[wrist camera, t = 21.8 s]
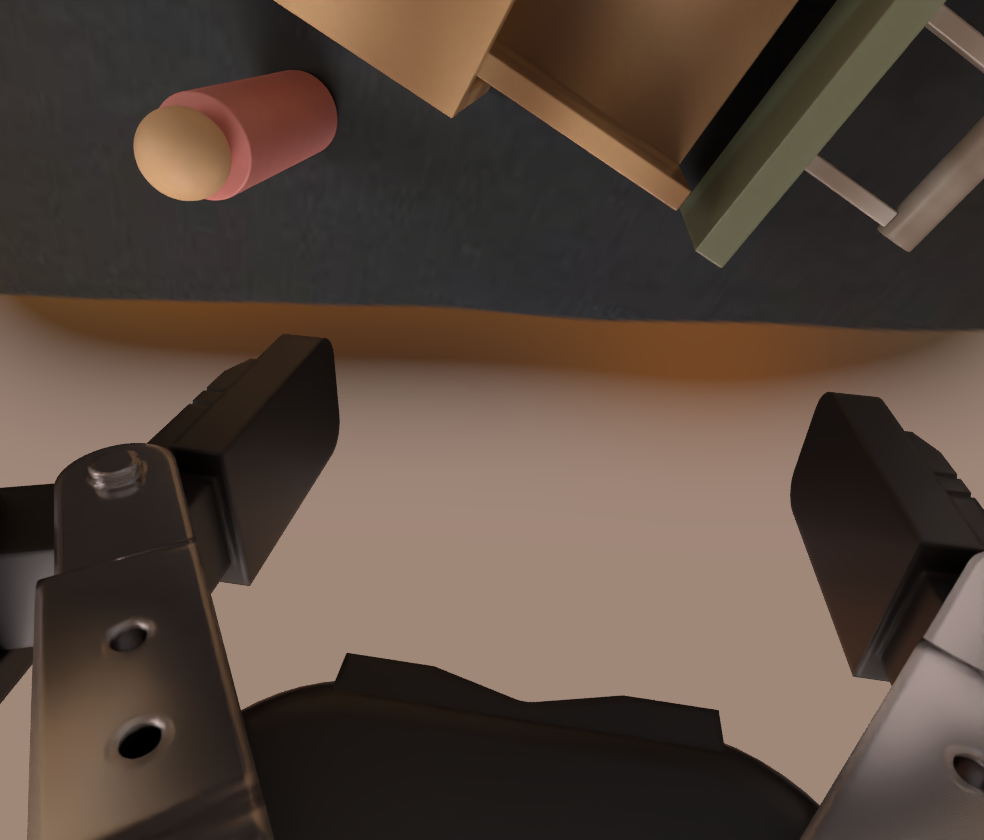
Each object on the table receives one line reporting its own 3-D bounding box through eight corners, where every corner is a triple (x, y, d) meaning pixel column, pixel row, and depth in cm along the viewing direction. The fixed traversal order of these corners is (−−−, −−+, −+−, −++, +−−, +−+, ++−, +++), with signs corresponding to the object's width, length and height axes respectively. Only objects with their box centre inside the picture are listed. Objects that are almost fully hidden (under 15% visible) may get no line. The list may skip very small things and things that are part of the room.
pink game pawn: (278, 52, 28) (117, 75, 19) (350, 99, 29) (228, 143, 19) (252, 127, 30) (93, 181, 21) (320, 169, 30) (196, 241, 21)
